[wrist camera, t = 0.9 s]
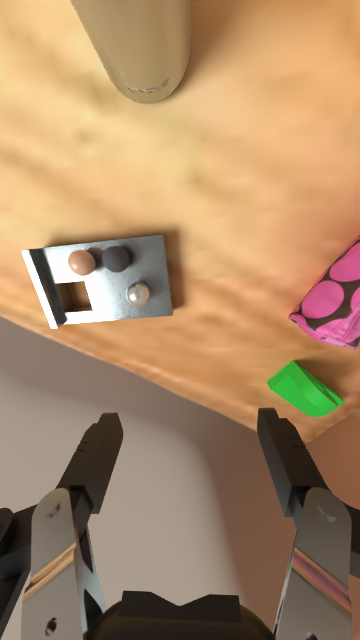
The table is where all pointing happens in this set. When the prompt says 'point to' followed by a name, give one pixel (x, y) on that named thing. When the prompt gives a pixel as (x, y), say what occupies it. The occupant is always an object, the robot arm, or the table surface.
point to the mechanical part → (304, 391)
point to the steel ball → (138, 294)
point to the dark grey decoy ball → (115, 259)
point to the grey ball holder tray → (102, 281)
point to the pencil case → (334, 303)
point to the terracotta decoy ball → (81, 262)
